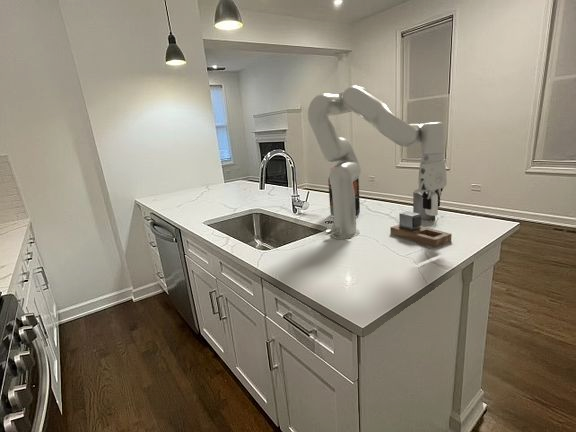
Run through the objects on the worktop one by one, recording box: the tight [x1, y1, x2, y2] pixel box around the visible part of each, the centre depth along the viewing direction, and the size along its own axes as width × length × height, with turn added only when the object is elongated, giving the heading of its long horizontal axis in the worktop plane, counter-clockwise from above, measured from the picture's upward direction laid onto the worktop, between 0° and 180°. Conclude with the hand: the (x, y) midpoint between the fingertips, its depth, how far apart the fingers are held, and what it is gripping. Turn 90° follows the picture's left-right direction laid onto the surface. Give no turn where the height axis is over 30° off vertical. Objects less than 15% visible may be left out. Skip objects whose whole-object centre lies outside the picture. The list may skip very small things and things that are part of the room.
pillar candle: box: [412, 189, 436, 222], centre depth 149 cm, size 10×10×15 cm
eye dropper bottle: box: [425, 190, 439, 217], centre depth 117 cm, size 4×6×12 cm
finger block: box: [398, 210, 422, 231], centre depth 128 cm, size 4×7×9 cm, turn 29°
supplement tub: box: [327, 166, 361, 217], centre depth 167 cm, size 16×16×26 cm
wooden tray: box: [390, 224, 453, 249], centre depth 125 cm, size 10×21×4 cm, turn 29°
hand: (431, 207), depth 118 cm, fingers closed on eye dropper bottle, 4 cm apart
